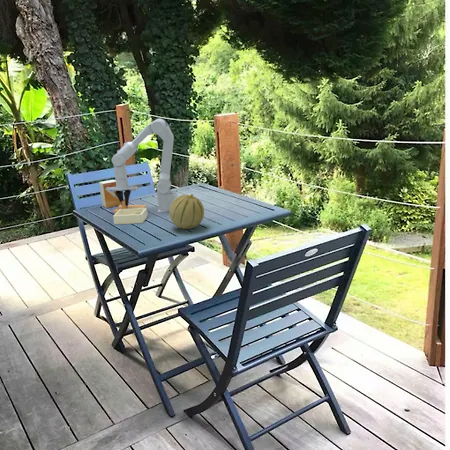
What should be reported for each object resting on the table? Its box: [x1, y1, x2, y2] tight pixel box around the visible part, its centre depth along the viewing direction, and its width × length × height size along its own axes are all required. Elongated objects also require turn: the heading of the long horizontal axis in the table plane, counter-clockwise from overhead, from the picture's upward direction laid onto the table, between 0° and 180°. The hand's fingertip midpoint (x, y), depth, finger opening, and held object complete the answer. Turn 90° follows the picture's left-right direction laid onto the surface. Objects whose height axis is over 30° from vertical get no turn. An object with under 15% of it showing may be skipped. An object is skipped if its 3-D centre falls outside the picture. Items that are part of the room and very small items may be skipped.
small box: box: [98, 179, 121, 209], centre depth 243 cm, size 8×6×13 cm
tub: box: [112, 207, 149, 225], centre depth 214 cm, size 13×11×4 cm
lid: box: [113, 198, 147, 214], centre depth 228 cm, size 14×12×5 cm
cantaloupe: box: [168, 193, 205, 230], centre depth 197 cm, size 15×15×15 cm
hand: (125, 205), depth 228 cm, fingers closed on lid
